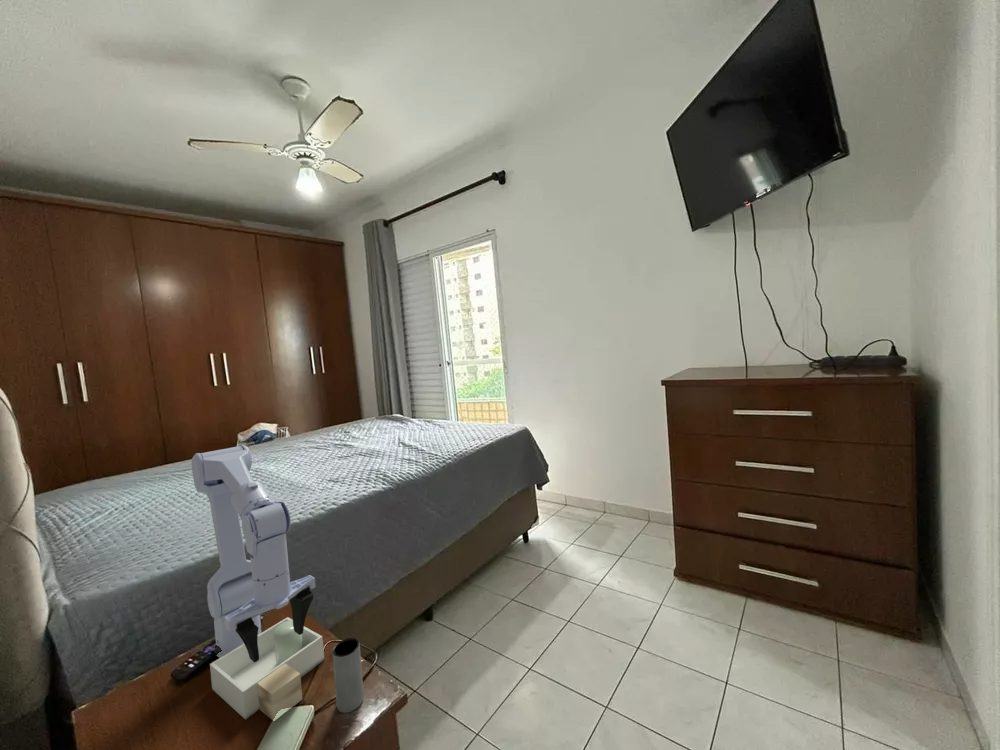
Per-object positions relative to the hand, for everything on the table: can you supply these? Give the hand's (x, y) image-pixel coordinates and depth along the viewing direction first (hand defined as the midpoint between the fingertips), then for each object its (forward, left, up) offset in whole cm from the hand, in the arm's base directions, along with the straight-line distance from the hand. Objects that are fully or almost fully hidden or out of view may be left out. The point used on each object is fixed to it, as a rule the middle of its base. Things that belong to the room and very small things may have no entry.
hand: (277, 645), depth 70 cm
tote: (-8, +2, -11) cm, 14 cm away
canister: (-8, +6, -10) cm, 14 cm away
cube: (+1, 0, -11) cm, 11 cm away
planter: (+12, +6, -11) cm, 17 cm away
